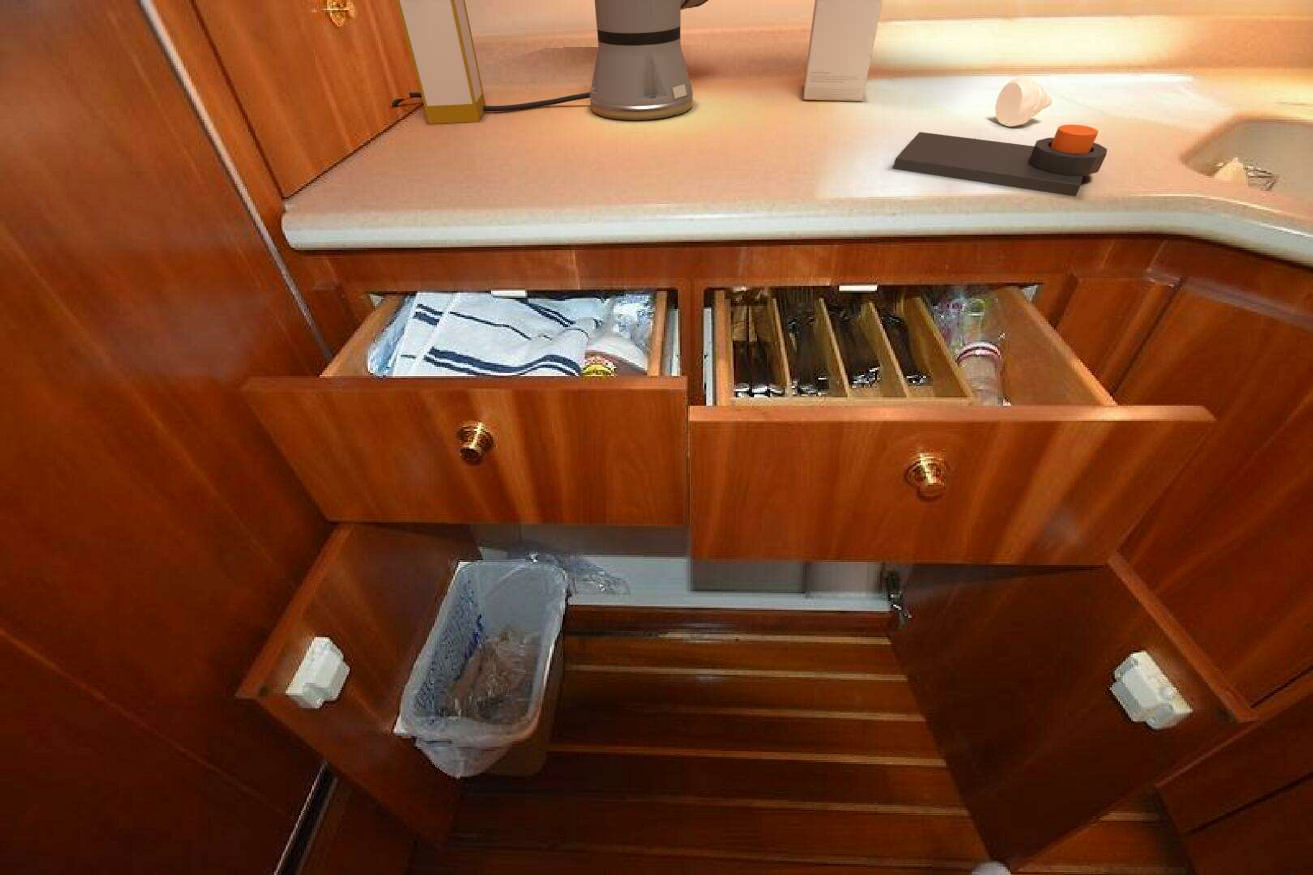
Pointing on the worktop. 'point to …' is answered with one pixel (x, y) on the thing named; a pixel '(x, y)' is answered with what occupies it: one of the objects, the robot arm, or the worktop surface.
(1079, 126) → the switch
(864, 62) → the rectangular carton
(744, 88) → the worktop surface
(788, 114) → the worktop surface
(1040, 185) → the base
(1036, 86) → the garlic bulb
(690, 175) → the worktop surface
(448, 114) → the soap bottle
